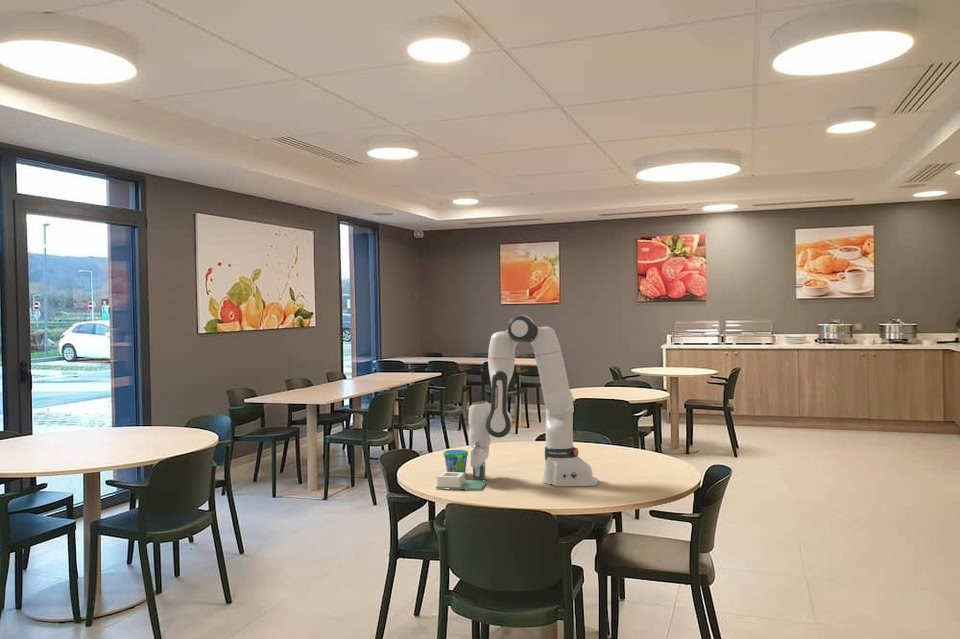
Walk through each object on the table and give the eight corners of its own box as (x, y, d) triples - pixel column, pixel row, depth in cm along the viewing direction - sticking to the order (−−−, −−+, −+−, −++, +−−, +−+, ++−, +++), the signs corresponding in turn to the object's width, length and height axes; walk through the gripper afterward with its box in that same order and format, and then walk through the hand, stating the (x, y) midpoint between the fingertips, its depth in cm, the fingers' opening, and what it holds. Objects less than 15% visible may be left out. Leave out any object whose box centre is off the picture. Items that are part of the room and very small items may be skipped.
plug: (485, 479, 284) (485, 462, 284) (483, 481, 280) (483, 464, 280) (474, 479, 285) (474, 462, 285) (472, 481, 281) (472, 464, 281)
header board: (487, 482, 278) (487, 470, 278) (480, 490, 264) (480, 478, 264) (444, 481, 282) (444, 469, 282) (435, 489, 268) (435, 476, 268)
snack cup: (441, 472, 300) (441, 448, 300) (465, 470, 302) (464, 447, 302) (446, 479, 284) (446, 455, 284) (471, 478, 286) (471, 454, 286)
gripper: (481, 444, 272) (482, 479, 272) (491, 436, 292) (491, 469, 292) (466, 444, 273) (466, 479, 273) (476, 436, 293) (477, 468, 293)
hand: (479, 473), depth 283 cm, fingers open, 7 cm apart
